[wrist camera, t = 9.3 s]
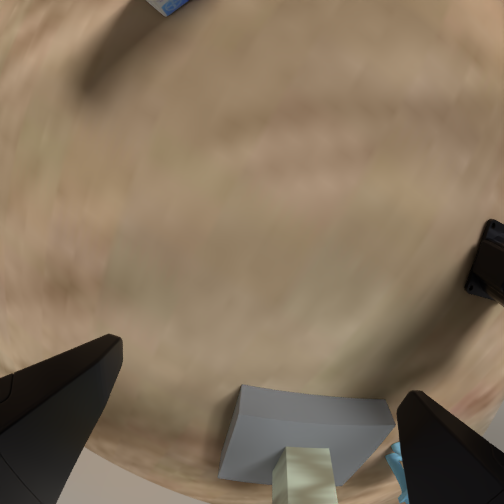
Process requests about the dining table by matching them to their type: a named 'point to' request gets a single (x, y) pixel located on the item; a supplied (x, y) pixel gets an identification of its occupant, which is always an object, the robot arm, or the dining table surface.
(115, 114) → the dining table surface
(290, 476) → the sage block
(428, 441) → the robot arm
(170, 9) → the medicine box
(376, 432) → the grey block
